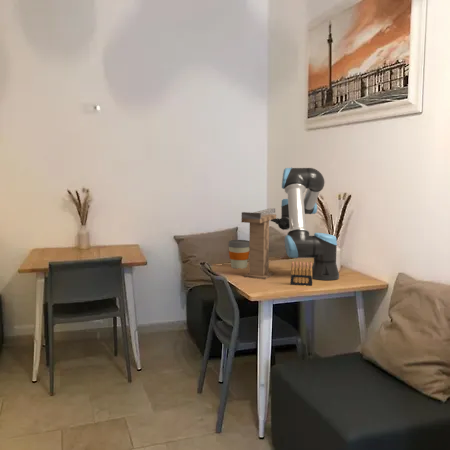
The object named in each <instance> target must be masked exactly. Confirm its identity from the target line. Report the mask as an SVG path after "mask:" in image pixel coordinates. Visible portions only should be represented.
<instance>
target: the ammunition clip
mask: <svg viewBox="0 0 450 450" xmlns="http://www.w3.org/2000/svg"><path fill="white" fill-rule="evenodd" d="M312 266H313V263H312V261H310V262H308V261H306V263H305V261H304V260H303V261H302V262H301V261H299V262H298V261H297V260H296V261H295V262H294V260H292V261H291V267H290V268H291V269H290V283H289V284H290V286H304V285H306V287H312V286H313V278H312Z"/></svg>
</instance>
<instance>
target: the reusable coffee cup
mask: <svg viewBox="0 0 450 450" xmlns="http://www.w3.org/2000/svg"><path fill="white" fill-rule="evenodd" d="M228 256H229V259H230V265H231V266H230V267H231V268H232V269H238V268H241V269H246V268H247V267H248V262H249V261H248V260H249V240H246V239H232V240H231V239H230V240H229V241H228Z"/></svg>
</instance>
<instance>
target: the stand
mask: <svg viewBox="0 0 450 450" xmlns="http://www.w3.org/2000/svg"><path fill="white" fill-rule="evenodd" d="M275 218H276V219H277V214H276V213H273V214H269V215H266V216H262V217H261V213H253V212H250V211H249V212H245V211H242V212H241V221H240V222H241V223H248V224H249V240H248V241H249V259H248V260H249V261H248V263H249V264H248V272H247V273H246V274H244V275H243V277H244V278H250V279H259V280H260V279H261V280H267V279H268V278H271V277H272V276H273V275H274V272H269V264H270V263H269V260H270V259H269V258H270V257H269V255H270V251H269V250H270V248H269V247H270V245H269V243H270V242H269V241H270V221H269V220H272V219H275Z"/></svg>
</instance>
